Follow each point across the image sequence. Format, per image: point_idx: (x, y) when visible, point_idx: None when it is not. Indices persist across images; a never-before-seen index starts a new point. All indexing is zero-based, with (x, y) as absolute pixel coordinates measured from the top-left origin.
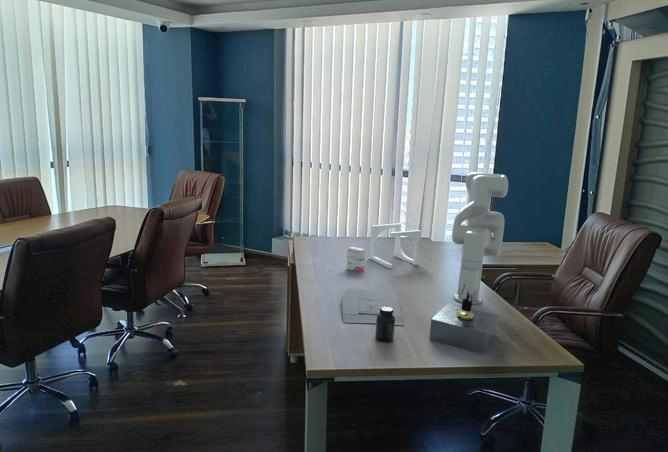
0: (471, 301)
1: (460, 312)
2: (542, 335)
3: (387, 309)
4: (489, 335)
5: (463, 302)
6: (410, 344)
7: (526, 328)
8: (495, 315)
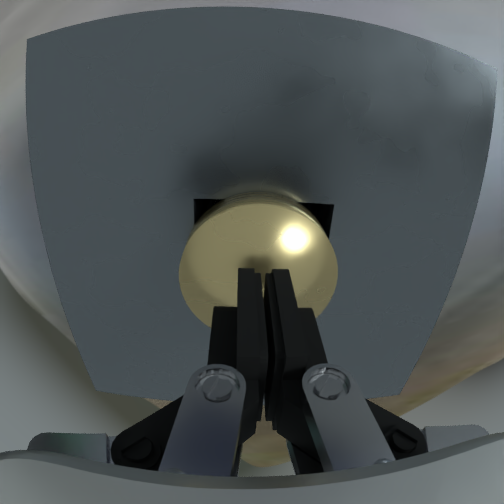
0: (273, 423)
1: (254, 234)
2: (412, 408)
3: None
4: None
5: (236, 343)
6: (10, 24)
7: (453, 371)
8: (392, 388)
